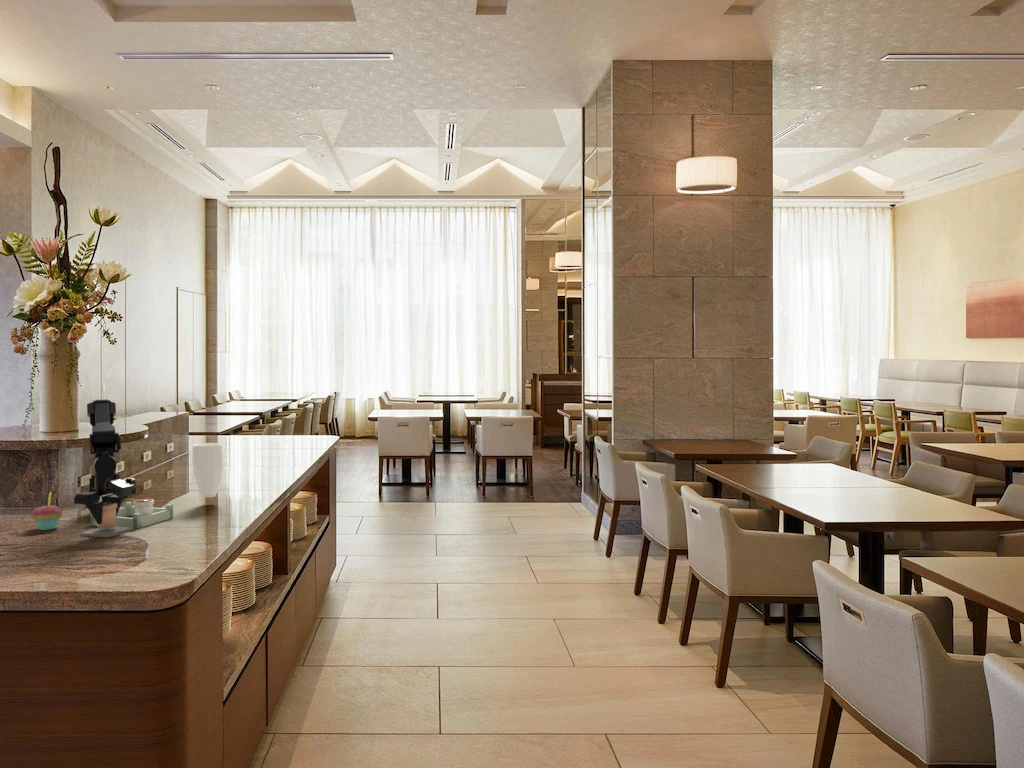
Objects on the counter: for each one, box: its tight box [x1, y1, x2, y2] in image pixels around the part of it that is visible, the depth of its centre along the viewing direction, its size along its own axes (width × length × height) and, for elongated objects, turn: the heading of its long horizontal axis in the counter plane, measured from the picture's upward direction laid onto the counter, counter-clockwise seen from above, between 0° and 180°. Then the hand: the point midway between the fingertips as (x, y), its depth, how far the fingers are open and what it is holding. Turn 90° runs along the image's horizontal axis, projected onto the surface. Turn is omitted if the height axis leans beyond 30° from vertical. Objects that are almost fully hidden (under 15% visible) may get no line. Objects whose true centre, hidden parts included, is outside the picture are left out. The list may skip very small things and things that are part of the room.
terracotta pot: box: [97, 502, 117, 529], centre depth 241 cm, size 6×6×7 cm
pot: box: [132, 498, 155, 517], centre depth 255 cm, size 6×6×7 cm
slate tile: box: [80, 526, 134, 538], centre depth 241 cm, size 10×10×1 cm
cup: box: [192, 442, 224, 498], centre depth 283 cm, size 10×10×22 cm
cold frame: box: [89, 501, 174, 529], centre depth 256 cm, size 18×16×4 cm
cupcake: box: [29, 490, 63, 531], centre depth 247 cm, size 9×8×12 cm
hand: (106, 522), depth 241 cm, fingers closed on terracotta pot, 5 cm apart
